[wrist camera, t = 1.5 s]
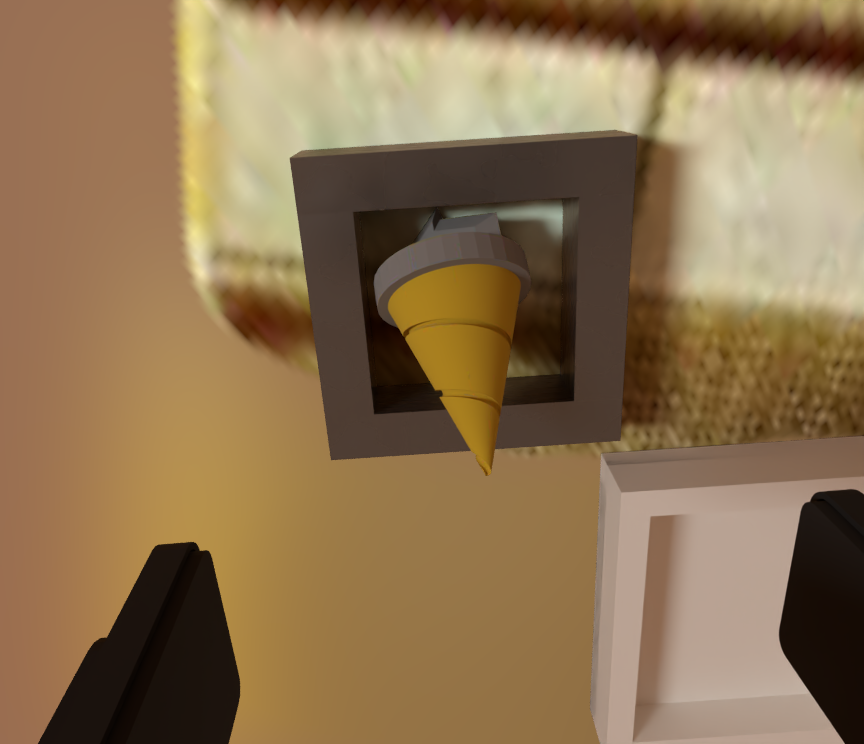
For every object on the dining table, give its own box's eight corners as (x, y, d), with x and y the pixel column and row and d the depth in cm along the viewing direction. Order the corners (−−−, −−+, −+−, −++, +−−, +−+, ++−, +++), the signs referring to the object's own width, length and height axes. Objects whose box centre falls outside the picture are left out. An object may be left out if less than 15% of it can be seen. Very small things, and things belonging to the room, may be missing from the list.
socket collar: (615, 130, 24) (637, 134, 21) (603, 411, 28) (620, 440, 26) (301, 150, 24) (289, 158, 21) (337, 429, 28) (331, 460, 26)
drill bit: (537, 196, 25) (603, 458, 22) (430, 259, 28) (473, 497, 25) (445, 135, 21) (508, 443, 18) (332, 216, 24) (367, 492, 21)
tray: (952, 429, 29) (1009, 466, 26) (881, 688, 35) (922, 740, 32) (601, 453, 29) (621, 492, 26) (590, 708, 35) (605, 762, 32)
